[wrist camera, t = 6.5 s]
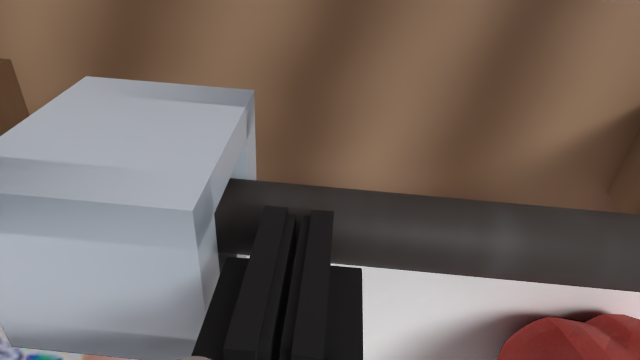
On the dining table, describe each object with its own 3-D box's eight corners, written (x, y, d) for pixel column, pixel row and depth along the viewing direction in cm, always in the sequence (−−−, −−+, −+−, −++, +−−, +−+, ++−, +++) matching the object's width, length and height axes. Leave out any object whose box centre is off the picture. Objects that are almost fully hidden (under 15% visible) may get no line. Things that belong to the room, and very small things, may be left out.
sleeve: (254, 90, 13) (192, 210, 8) (257, 218, 16) (212, 367, 11) (86, 76, 13) (-72, 186, 8) (117, 206, 16) (12, 346, 11)
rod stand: (775, 7, 15) (1218, 139, 7) (636, 240, 20) (802, 452, 13) (-89, -57, 15) (-514, -2, 8) (7, 183, 21) (-189, 349, 13)
